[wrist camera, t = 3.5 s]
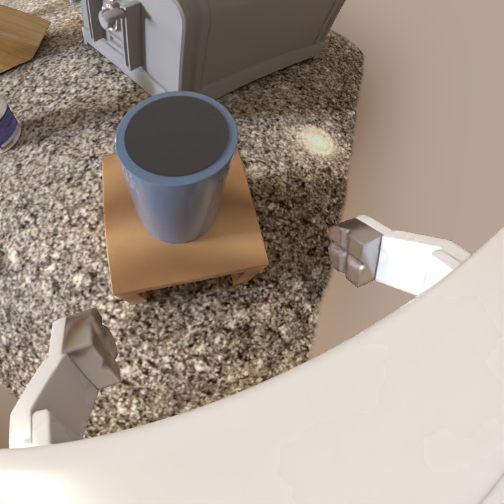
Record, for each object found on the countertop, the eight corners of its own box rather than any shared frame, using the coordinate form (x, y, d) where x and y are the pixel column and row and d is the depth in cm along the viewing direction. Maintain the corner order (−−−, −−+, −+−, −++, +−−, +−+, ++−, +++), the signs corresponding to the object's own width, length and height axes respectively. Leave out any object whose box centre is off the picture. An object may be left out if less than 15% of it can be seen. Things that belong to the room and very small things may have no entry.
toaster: (65, 52, 33) (50, -23, 17) (214, -4, 45) (227, -63, 29) (153, 140, 32) (146, 18, 15) (319, 57, 44) (357, -11, 27)
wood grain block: (248, 281, 30) (269, 263, 22) (132, 304, 26) (112, 294, 19) (223, 178, 32) (234, 135, 25) (118, 195, 29) (102, 155, 21)
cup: (225, 235, 22) (251, 175, 13) (142, 251, 20) (116, 196, 12) (209, 164, 23) (225, 86, 15) (134, 176, 22) (115, 99, 13)
